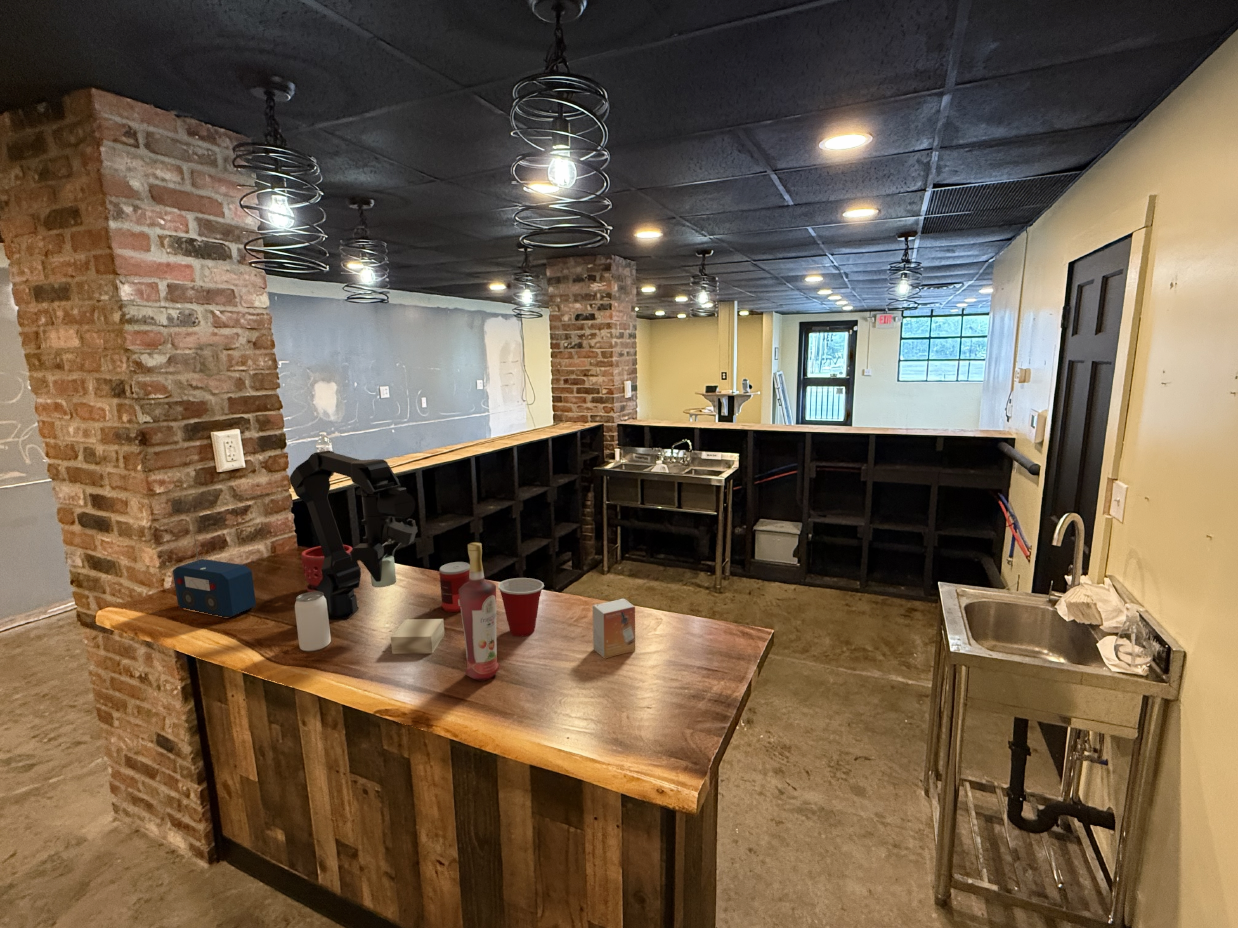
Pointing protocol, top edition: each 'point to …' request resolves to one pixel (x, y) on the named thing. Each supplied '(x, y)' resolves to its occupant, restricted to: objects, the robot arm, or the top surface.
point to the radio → (214, 587)
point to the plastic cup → (521, 604)
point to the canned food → (453, 584)
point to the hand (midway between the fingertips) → (383, 576)
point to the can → (312, 621)
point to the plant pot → (315, 566)
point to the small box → (614, 628)
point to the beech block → (417, 636)
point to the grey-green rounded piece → (386, 573)
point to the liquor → (479, 619)
